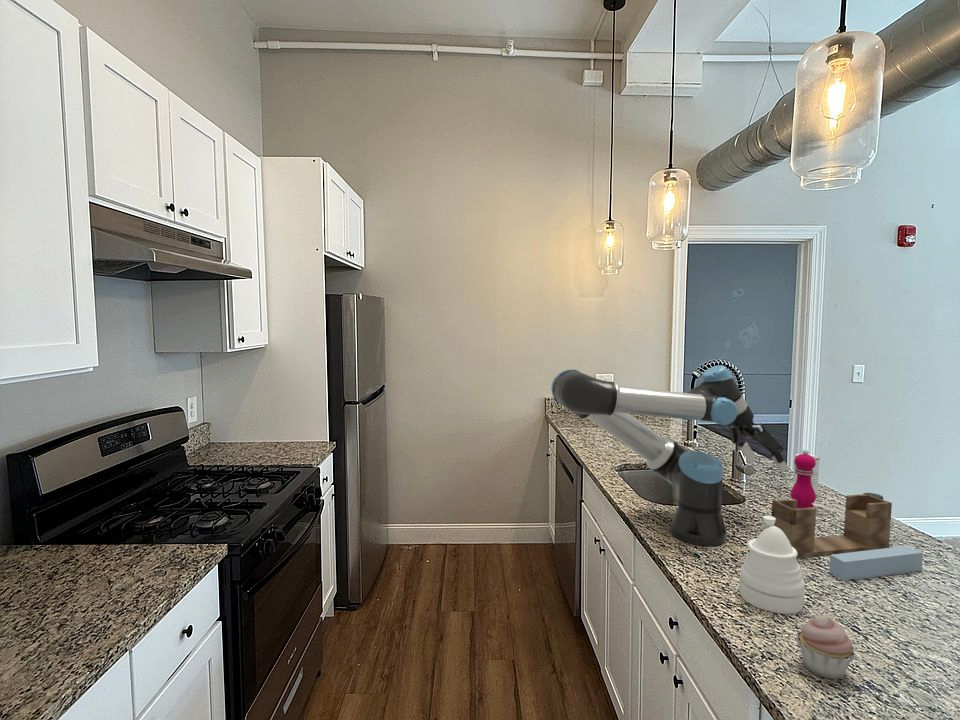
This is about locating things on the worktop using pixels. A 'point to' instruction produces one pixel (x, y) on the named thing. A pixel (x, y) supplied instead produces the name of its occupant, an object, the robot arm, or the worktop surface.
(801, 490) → the pepper mill
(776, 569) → the honey pot
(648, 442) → the robot arm
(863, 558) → the rail
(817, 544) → the bracket
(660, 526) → the worktop surface
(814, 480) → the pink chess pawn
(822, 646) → the cupcake
